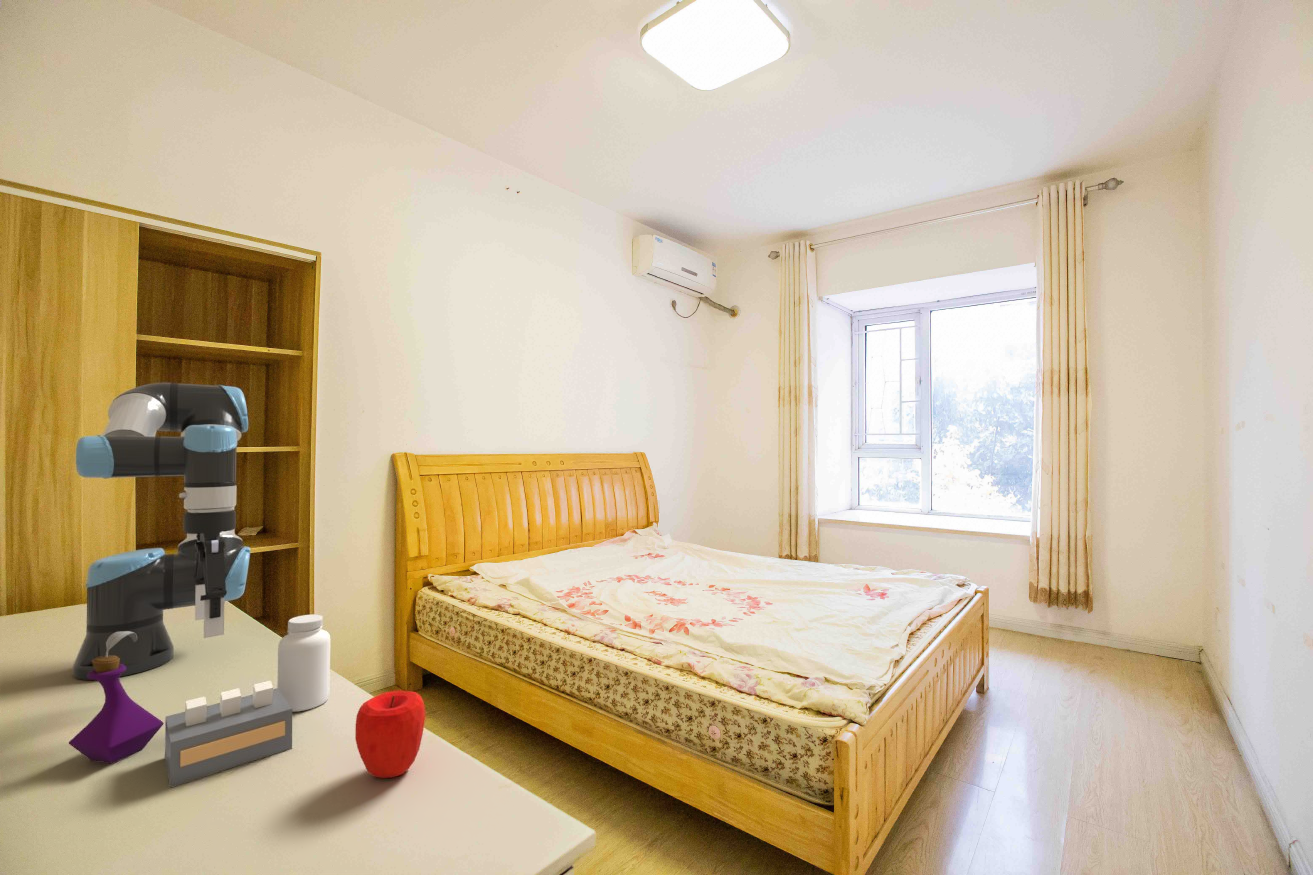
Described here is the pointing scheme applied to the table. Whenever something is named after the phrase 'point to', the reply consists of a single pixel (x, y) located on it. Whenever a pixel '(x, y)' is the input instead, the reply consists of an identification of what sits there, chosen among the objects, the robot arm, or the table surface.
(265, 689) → the cream sugar cube
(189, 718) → the paddle left
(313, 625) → the pill bottle
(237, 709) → the paddle middle
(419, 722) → the apple
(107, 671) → the perfume bottle
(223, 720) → the breaker panel
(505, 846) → the table surface
